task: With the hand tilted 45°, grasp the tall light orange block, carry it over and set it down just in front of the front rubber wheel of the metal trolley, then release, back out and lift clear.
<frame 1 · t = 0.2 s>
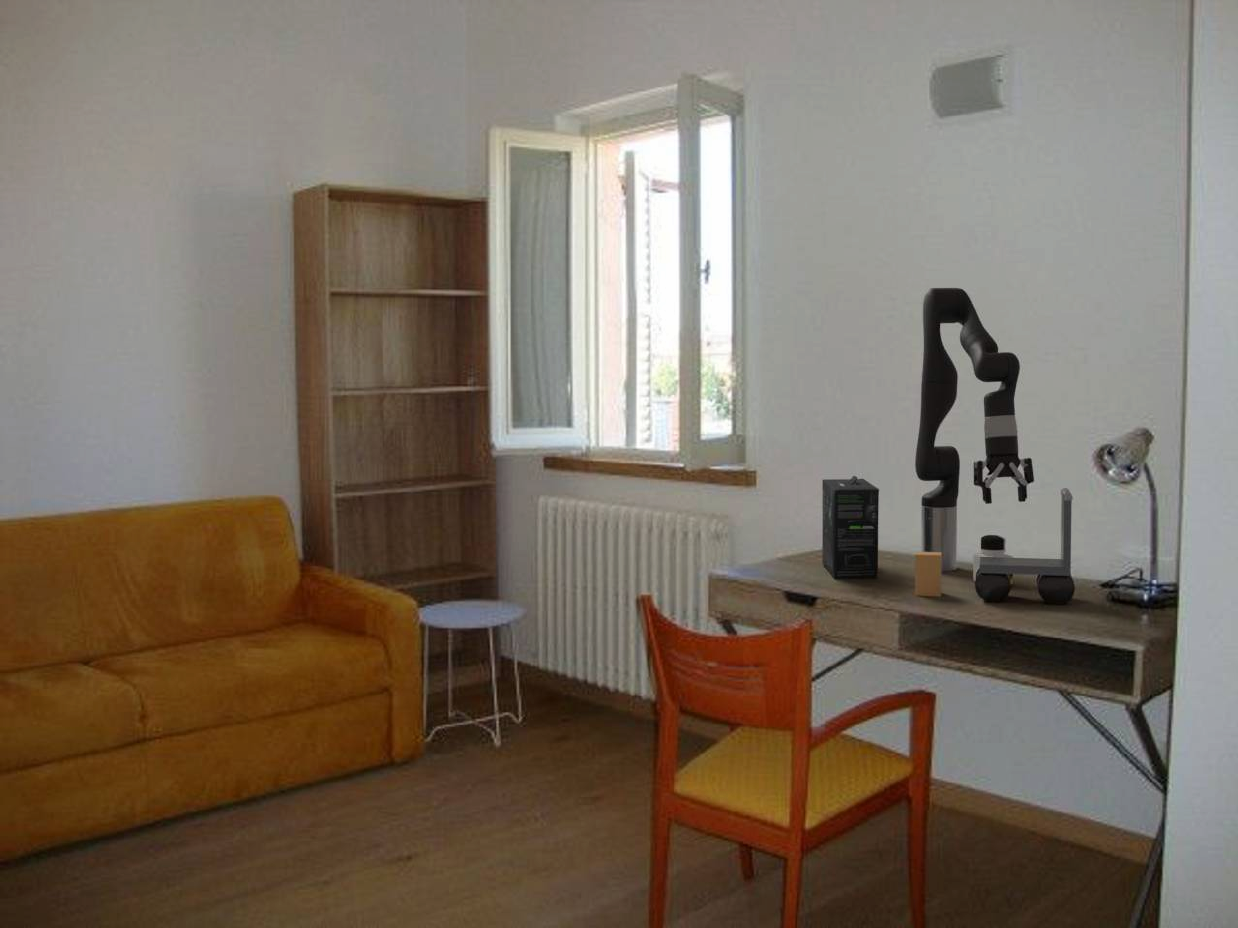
hand: (1005, 502, 295), 22 cm above the table, tool pointing down, fingers open, 8 cm apart
trolley: (1023, 599, 290), on the table
headset box: (849, 572, 331), on the table
medicine bottle: (992, 583, 312), on the table
light orange block: (928, 594, 299), on the table
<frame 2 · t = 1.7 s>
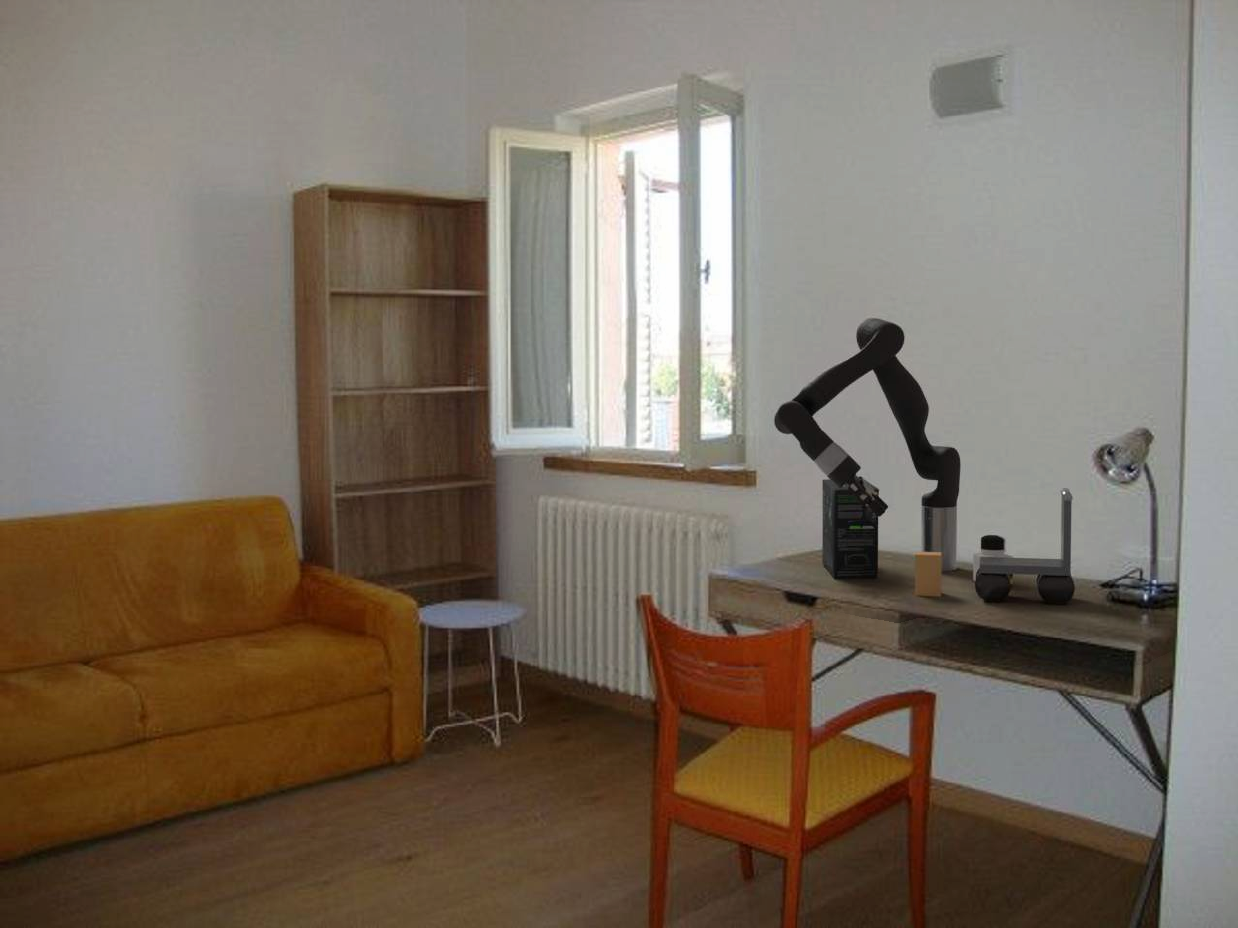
hand: (884, 512, 300), 20 cm above the table, tool tilted 45°, fingers open, 8 cm apart
nothing on the table moved.
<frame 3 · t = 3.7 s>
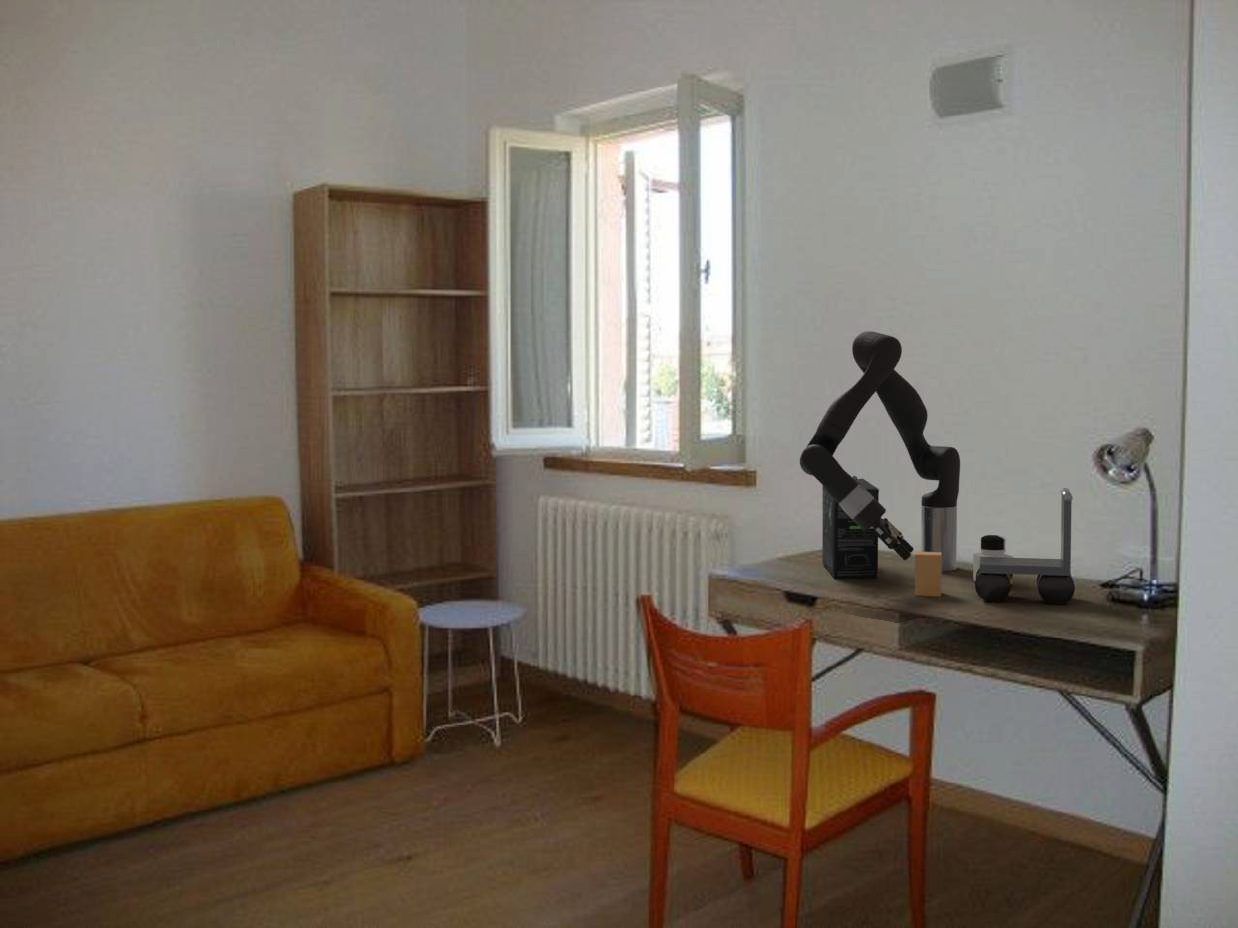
hand: (909, 555, 299), 9 cm above the table, tool tilted 45°, fingers open, 8 cm apart
nothing on the table moved.
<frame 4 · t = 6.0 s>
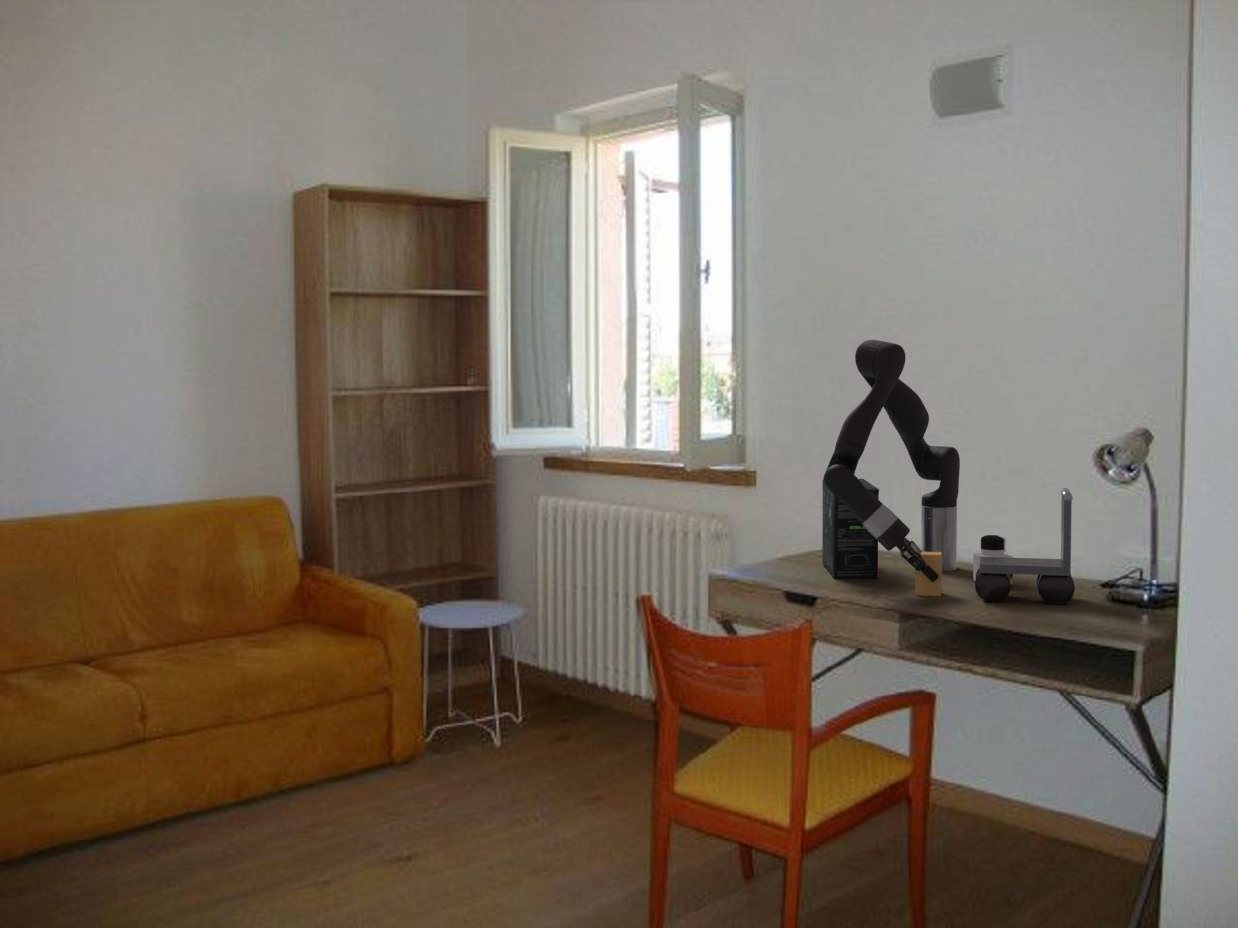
hand: (936, 577, 298), 4 cm above the table, tool tilted 45°, fingers closed on light orange block, 4 cm apart
light orange block: (928, 593, 299), on the table, touching gripper
everything else where it was.
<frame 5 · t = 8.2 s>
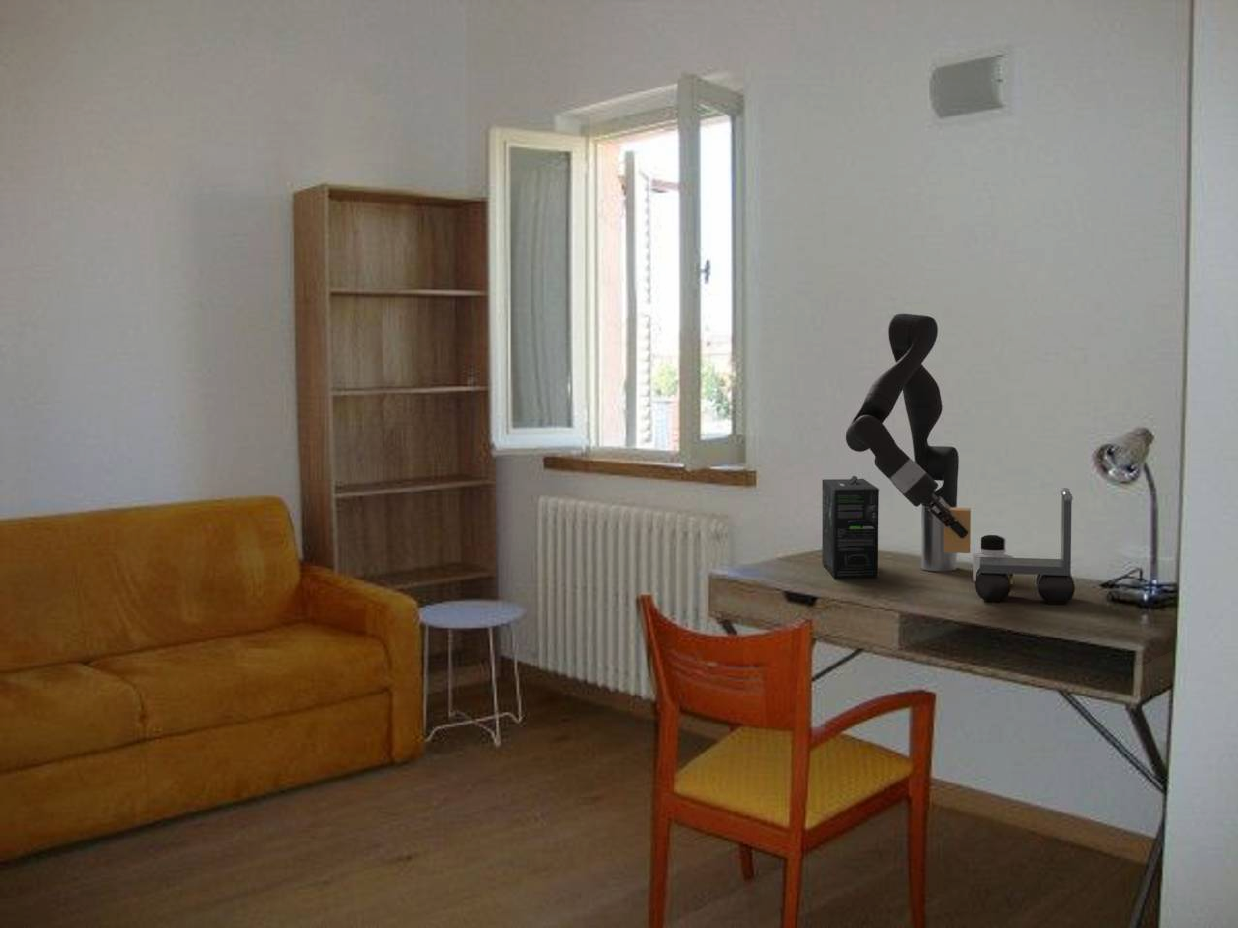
hand: (965, 533, 289), 16 cm above the table, tool tilted 45°, fingers closed on light orange block, 4 cm apart
light orange block: (957, 551, 290), point 12 cm above the table, touching gripper
everything else where it was.
when the fingers open (5 cm above the table, at t = 10.5 s): light orange block stays where it is, on the table.
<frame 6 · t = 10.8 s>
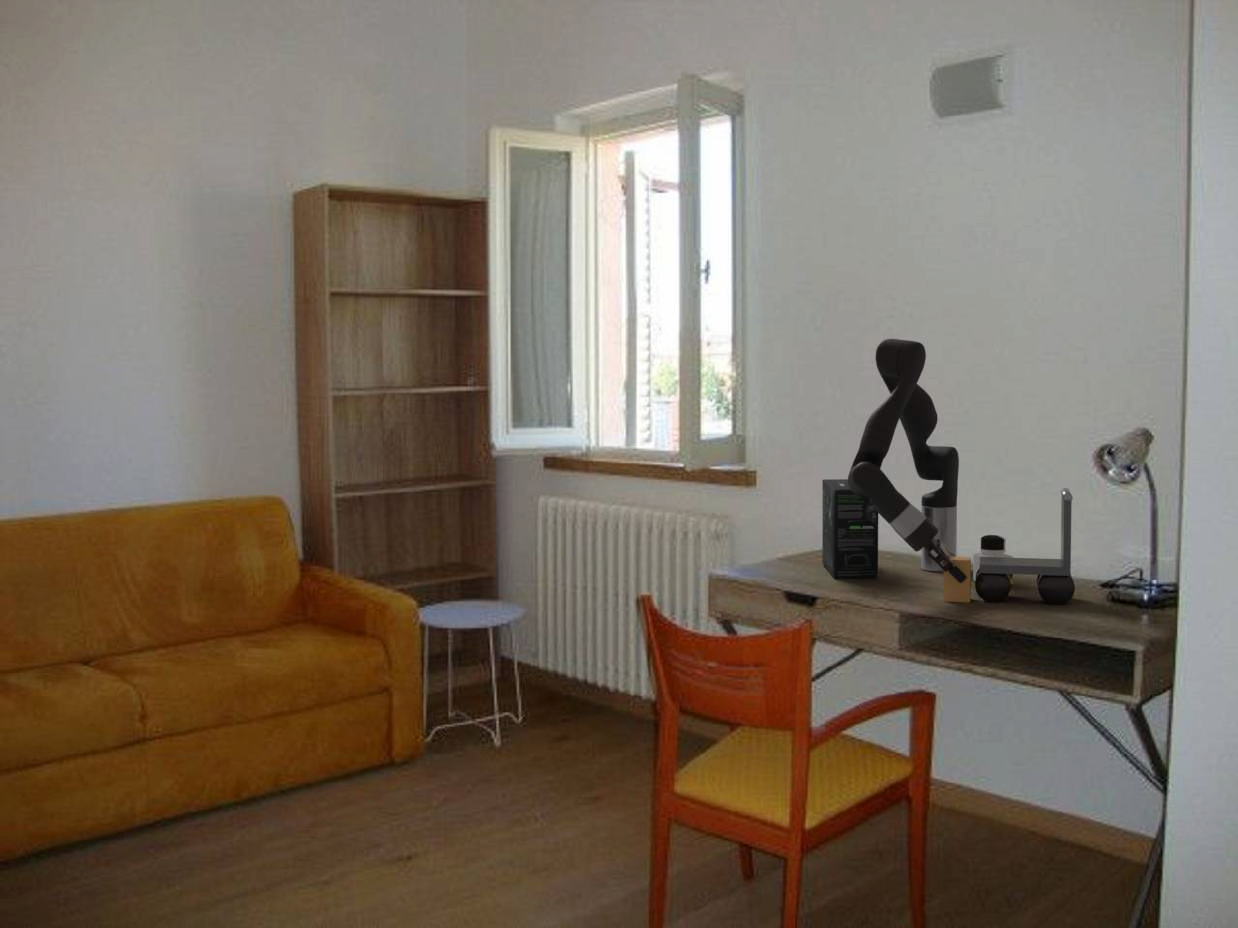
hand: (964, 577, 290), 5 cm above the table, tool tilted 45°, fingers open, 7 cm apart
light orange block: (957, 600, 291), on the table
everything else where it was.
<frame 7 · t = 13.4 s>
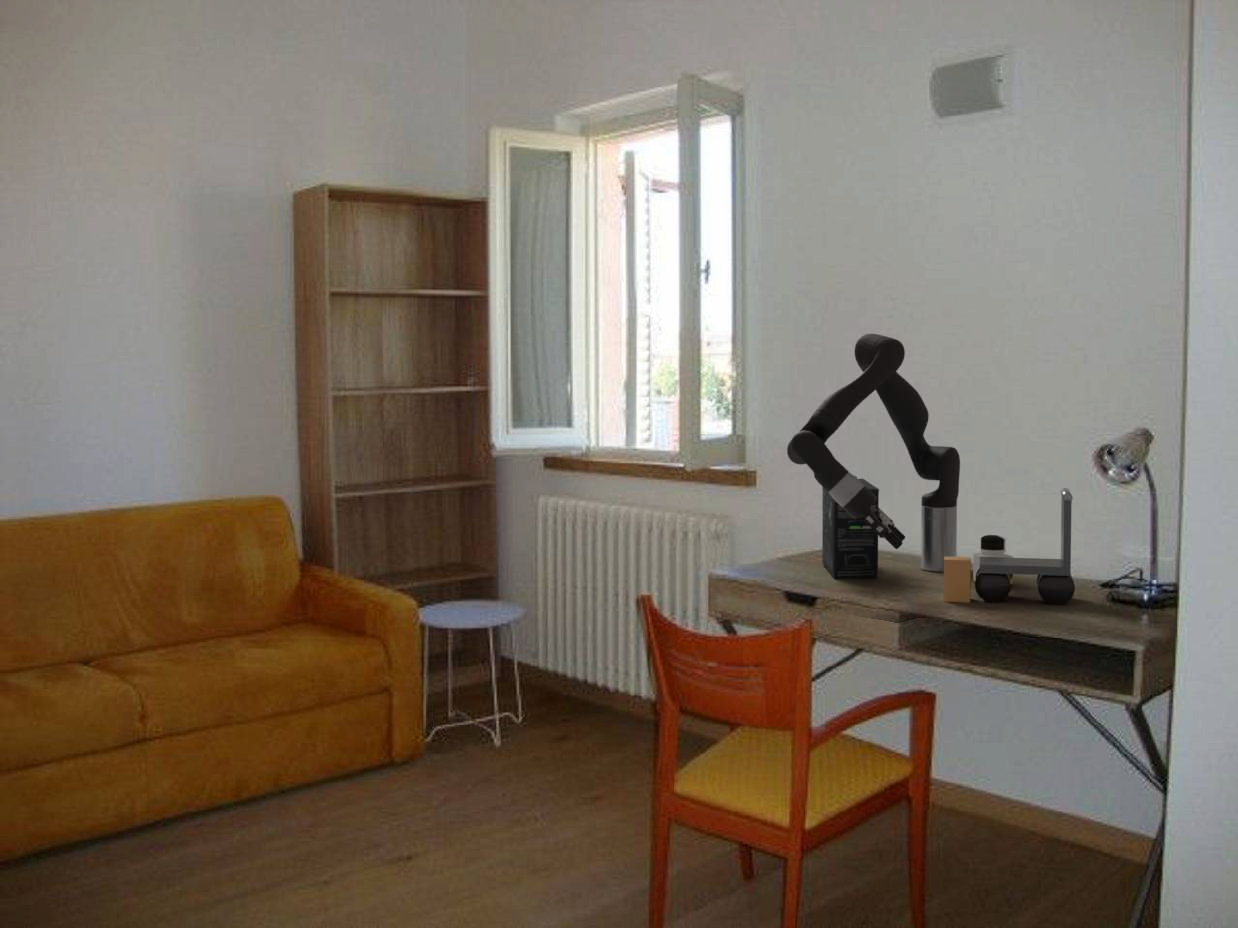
hand: (901, 543, 294), 13 cm above the table, tool tilted 45°, fingers open, 8 cm apart
nothing on the table moved.
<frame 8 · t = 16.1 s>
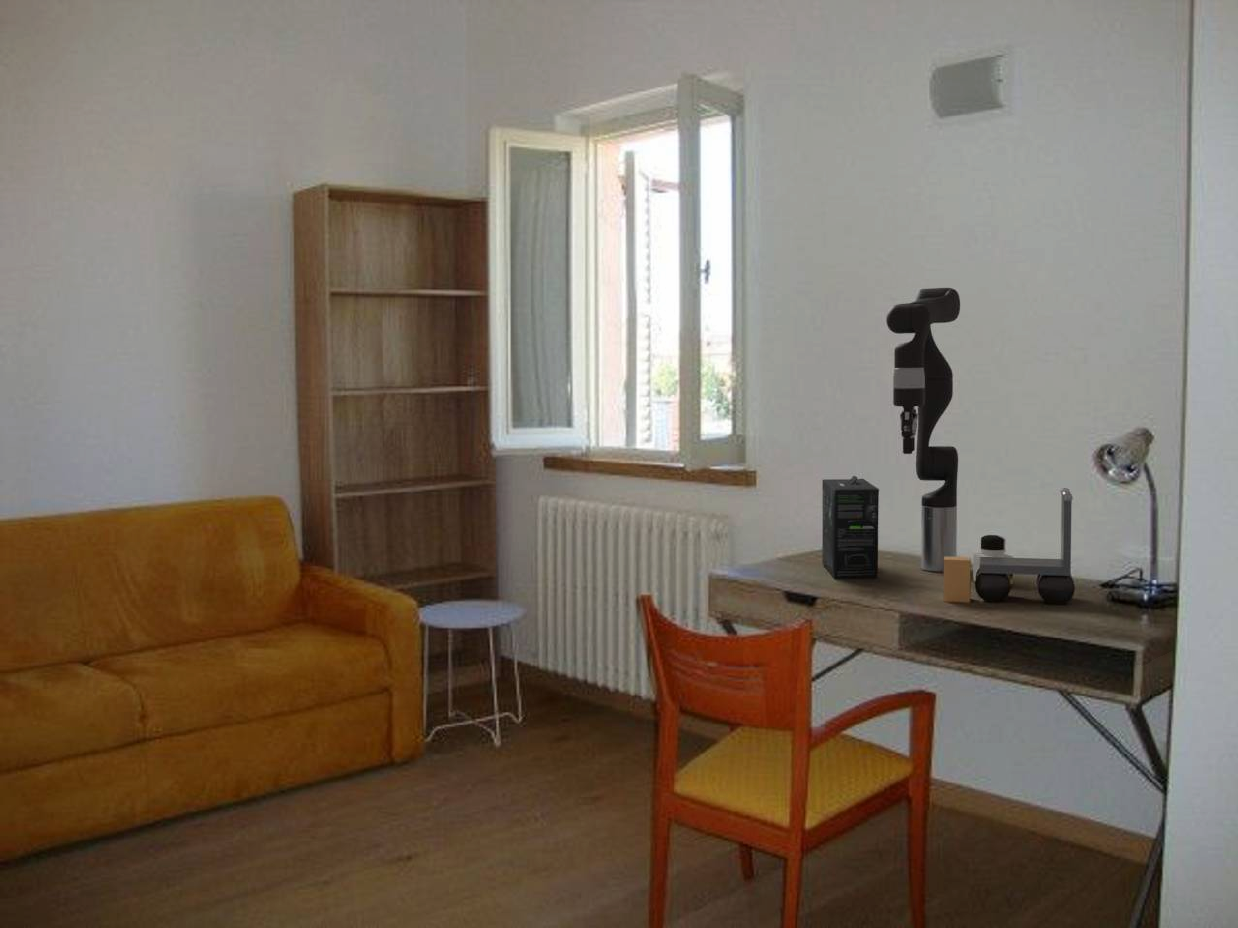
hand: (908, 452, 302), 34 cm above the table, tool pointing down, fingers open, 8 cm apart
nothing on the table moved.
at the end: light orange block 0.1 cm from the target spot, on the table; light orange block tilted 0° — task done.
